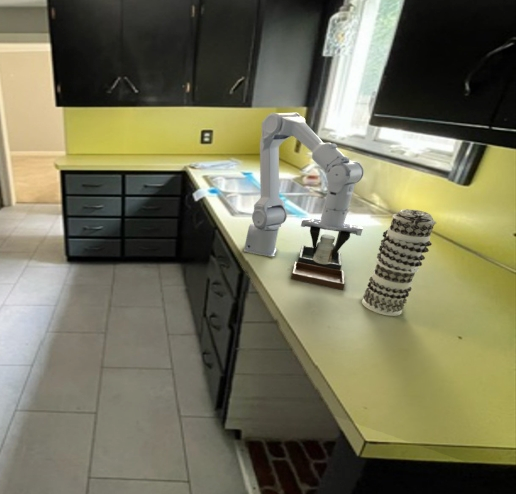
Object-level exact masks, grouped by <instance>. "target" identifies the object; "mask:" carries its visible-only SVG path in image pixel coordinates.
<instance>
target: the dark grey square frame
mask: <svg viewBox="0 0 516 494" xmlns="http://www.w3.org/2000/svg"><path fill="white" fill-rule="evenodd" d="M312 250H313V246H309V245H305V244H302V245H301V247H300V251H299V256H298V260H297V262H301V263H306V264H311V265H316V266H321V267H326V268H331V269H336V270H341V269H342V252H341V251H338V252H337V254H336V256H335V257H332V258H331V261H335V262H330V263H329V264H319V263H317V262H315V261H314V260H313V258H310V257H314V253H312ZM303 255H304V256H309V257H304V256H303Z"/></svg>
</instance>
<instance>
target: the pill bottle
mask: <svg viewBox="0 0 516 494" xmlns="http://www.w3.org/2000/svg"><path fill="white" fill-rule="evenodd" d="M335 239H336V237H335V236H333V235H332V234H325V233H324V234H320V238H319V241H317V245H316V251H315V254H314V256H313V257H312V259H313V260H314V261H315V262H317V263H319V264H329V263H330V262H331V261H332V260H331V258H332V254H333V251H334V247H335V244H334V243H335V241H336V240H335ZM331 263H332V262H331Z"/></svg>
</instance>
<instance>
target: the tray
mask: <svg viewBox="0 0 516 494" xmlns="http://www.w3.org/2000/svg"><path fill="white" fill-rule="evenodd" d="M290 279H291V280H293V281H300V282H304V283H309V284H313V285H317V286H323V287H327V288H332V289H335V290H340V291H344V288H345V285H346V282H345V271H344V270H341V269H340V270H336V269H331V268H326V267H321V266H316V265H311V264H306V263H301V262H298V261H294V265H293V268H292V273H291V277H290Z"/></svg>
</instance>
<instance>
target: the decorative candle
mask: <svg viewBox="0 0 516 494" xmlns="http://www.w3.org/2000/svg"><path fill="white" fill-rule="evenodd" d="M391 217H392V220H391V222H390V226H389V227H388V228H387V229H386V230H385V231H383V233H382V237H383V239H381V240H380V245H379V248H378V251H379V252H378V253H377V255H376V259H375V262H376V265H375V270H373V272H372V274H371V276H370V277H369V282H368V284H367V288H366V289H365V291H364V294H363V296H362V297H363V299H362V300H361V303H362V305H363V306H364V307H365V308H366V309H368V310H370V312H371V311H372V312H374V313H376V314H380V315H383V316H387V317H388V316H389V317H390V316H391V317H396V316H400V315H402V313H403V309H405V304H407V301H408V300H407V298H408V297H409V295H410V293H409V292H411V291H412V284H413V281H414V280H413V278H414V277H415V274H416V273H418V272H419V271H420V267H421V266H423V263H422V261H424V260H425V259H426V257H425V256H424V255H423V254H424V253H428V252H430V250H429V248H428V247H430V246H432V244H433V243H432V242H431V241H430V239H431V236H432V235H431V234H432V232H433V229H434V226H435V225H436V224H437V221H436V220H434V218H433V216H432V214H430V213H429V212H427V211H422V210H418V209H408V208H407V209H401V210H399V211H398V212H397V213H394V214H392V215H391Z"/></svg>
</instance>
